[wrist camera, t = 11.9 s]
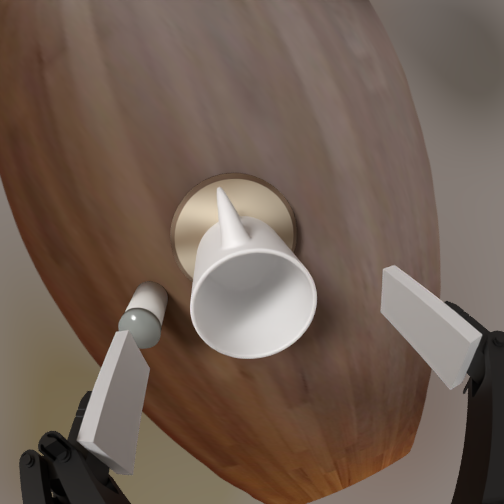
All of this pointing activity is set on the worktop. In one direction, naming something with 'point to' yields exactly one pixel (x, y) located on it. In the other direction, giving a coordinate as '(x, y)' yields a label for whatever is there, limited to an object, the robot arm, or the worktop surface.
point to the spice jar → (145, 314)
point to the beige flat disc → (244, 201)
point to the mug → (249, 287)
